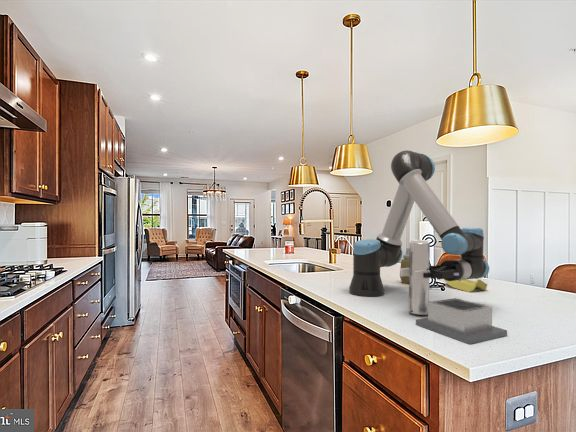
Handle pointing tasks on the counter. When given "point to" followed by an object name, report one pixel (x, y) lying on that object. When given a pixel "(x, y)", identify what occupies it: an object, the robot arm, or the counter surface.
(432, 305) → the plate
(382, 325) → the counter surface
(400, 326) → the counter surface
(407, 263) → the squeeze bottle
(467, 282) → the banana
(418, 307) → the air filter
